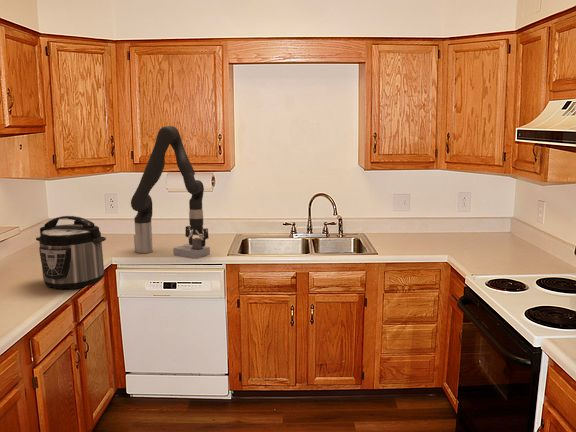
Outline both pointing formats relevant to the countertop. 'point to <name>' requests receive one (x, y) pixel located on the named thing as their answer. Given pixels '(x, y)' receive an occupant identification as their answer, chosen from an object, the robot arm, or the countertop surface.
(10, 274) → the countertop surface
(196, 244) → the grey square peg
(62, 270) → the pressure cooker
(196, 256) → the socket plate
